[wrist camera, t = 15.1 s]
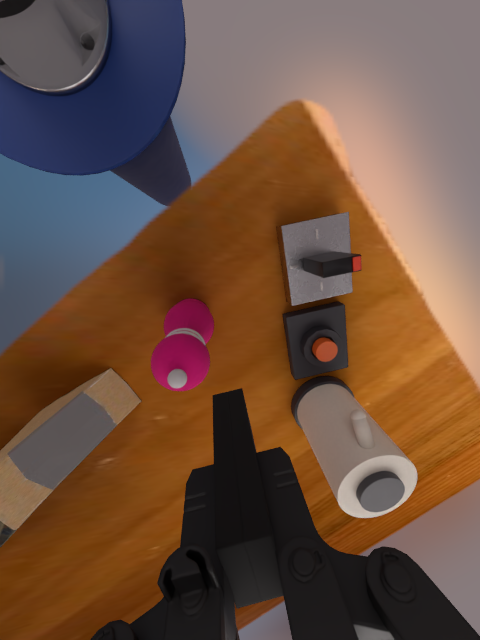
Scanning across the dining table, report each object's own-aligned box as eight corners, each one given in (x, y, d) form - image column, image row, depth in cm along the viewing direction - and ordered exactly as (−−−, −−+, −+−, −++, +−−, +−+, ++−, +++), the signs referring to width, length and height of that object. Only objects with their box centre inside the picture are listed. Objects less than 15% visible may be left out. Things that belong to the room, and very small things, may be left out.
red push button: (310, 339, 41) (314, 344, 40) (331, 335, 41) (336, 339, 40) (312, 359, 42) (317, 364, 41) (333, 354, 43) (338, 359, 41)
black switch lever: (303, 271, 38) (324, 278, 31) (302, 257, 37) (323, 262, 31) (335, 264, 38) (362, 270, 31) (334, 251, 38) (362, 254, 31)
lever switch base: (276, 226, 38) (281, 226, 35) (338, 213, 39) (349, 211, 36) (286, 301, 42) (292, 306, 39) (343, 288, 43) (353, 292, 40)
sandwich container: (143, 401, 45) (113, 476, 31) (74, 442, 46) (14, 532, 32) (111, 366, 43) (62, 431, 28) (38, 410, 44) (-44, 494, 29)
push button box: (282, 313, 43) (289, 321, 39) (338, 301, 43) (350, 307, 40) (291, 373, 47) (298, 385, 43) (342, 361, 47) (353, 372, 44)
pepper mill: (160, 321, 41) (118, 394, 22) (184, 286, 40) (162, 331, 21) (197, 344, 43) (188, 429, 24) (222, 311, 42) (232, 373, 23)
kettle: (285, 369, 47) (332, 452, 29) (347, 354, 47) (431, 427, 29) (295, 438, 52) (341, 544, 34) (351, 425, 53) (424, 522, 35)
